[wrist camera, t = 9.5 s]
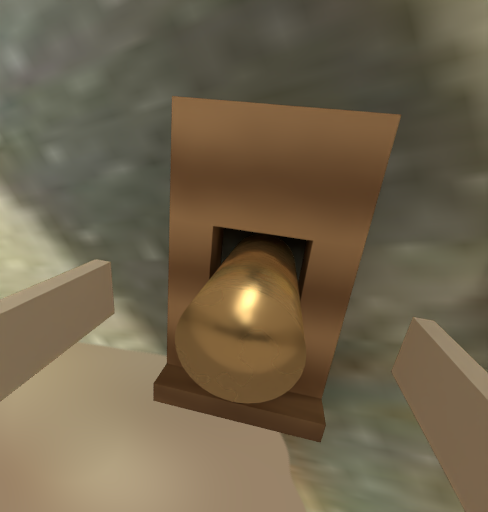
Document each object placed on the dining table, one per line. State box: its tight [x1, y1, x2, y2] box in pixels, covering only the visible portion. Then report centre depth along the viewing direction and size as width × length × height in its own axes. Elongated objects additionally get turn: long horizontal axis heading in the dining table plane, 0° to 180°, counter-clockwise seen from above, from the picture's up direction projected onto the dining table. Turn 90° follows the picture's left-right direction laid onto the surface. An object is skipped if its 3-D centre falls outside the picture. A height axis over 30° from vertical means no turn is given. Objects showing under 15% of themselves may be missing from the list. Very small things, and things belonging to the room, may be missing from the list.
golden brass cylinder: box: [175, 234, 306, 403], centre depth 14 cm, size 5×5×10 cm
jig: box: [154, 96, 401, 442], centre depth 16 cm, size 20×12×5 cm, turn 173°
